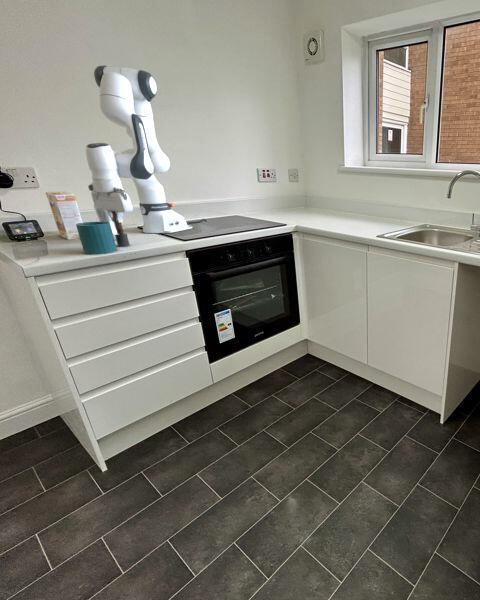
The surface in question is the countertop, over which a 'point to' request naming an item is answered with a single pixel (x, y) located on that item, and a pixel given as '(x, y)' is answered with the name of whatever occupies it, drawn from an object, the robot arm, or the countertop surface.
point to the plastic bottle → (106, 219)
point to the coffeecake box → (65, 213)
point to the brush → (120, 233)
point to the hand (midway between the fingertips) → (117, 221)
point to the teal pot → (96, 237)
